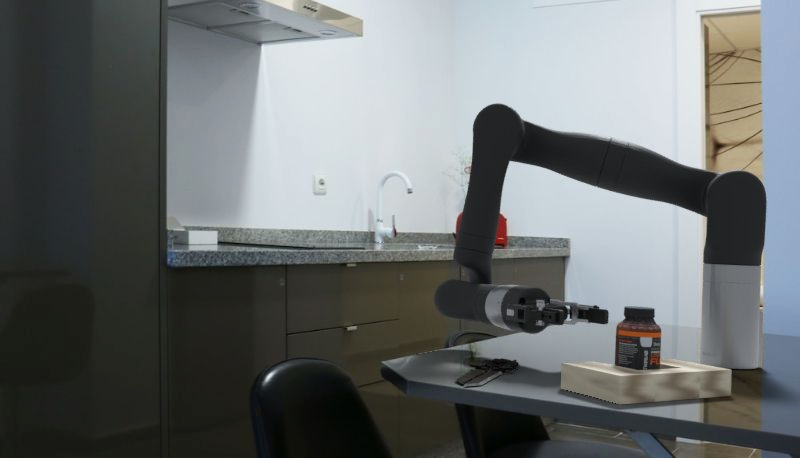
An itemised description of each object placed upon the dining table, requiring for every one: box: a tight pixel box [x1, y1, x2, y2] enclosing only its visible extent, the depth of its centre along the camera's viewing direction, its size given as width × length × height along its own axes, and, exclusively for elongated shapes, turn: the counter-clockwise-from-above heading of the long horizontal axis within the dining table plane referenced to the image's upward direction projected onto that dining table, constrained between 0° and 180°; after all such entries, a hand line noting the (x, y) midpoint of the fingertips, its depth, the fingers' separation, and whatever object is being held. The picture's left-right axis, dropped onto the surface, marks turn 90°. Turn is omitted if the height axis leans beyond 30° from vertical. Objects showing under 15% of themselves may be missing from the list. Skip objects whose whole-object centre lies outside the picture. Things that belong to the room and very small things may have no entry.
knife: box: [455, 357, 520, 388], centre depth 122 cm, size 25×6×1 cm, turn 155°
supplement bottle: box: [614, 305, 662, 370], centre depth 113 cm, size 6×6×11 cm
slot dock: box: [560, 357, 733, 405], centre depth 112 cm, size 20×11×4 cm, turn 119°
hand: (585, 317), depth 123 cm, fingers open, 8 cm apart
